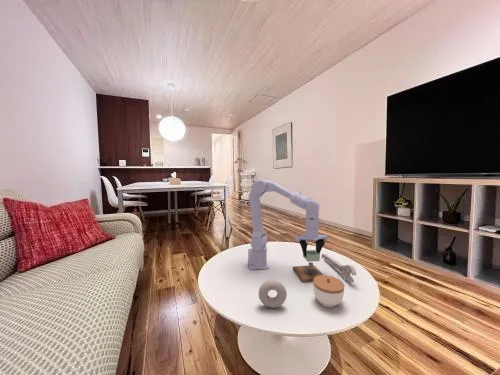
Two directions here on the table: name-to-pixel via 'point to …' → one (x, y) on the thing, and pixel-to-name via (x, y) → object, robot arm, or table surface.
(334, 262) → the wrench
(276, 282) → the donut
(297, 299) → the table surface
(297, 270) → the peg base
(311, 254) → the collar
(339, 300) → the lidded jar
